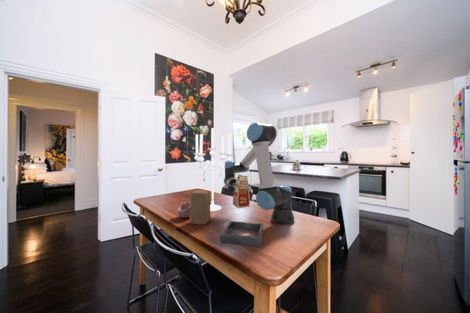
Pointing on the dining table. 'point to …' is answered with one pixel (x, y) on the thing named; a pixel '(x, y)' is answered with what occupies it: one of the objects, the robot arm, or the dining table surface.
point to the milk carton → (241, 192)
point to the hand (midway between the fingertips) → (244, 189)
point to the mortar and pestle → (184, 210)
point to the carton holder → (239, 238)
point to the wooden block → (200, 207)
